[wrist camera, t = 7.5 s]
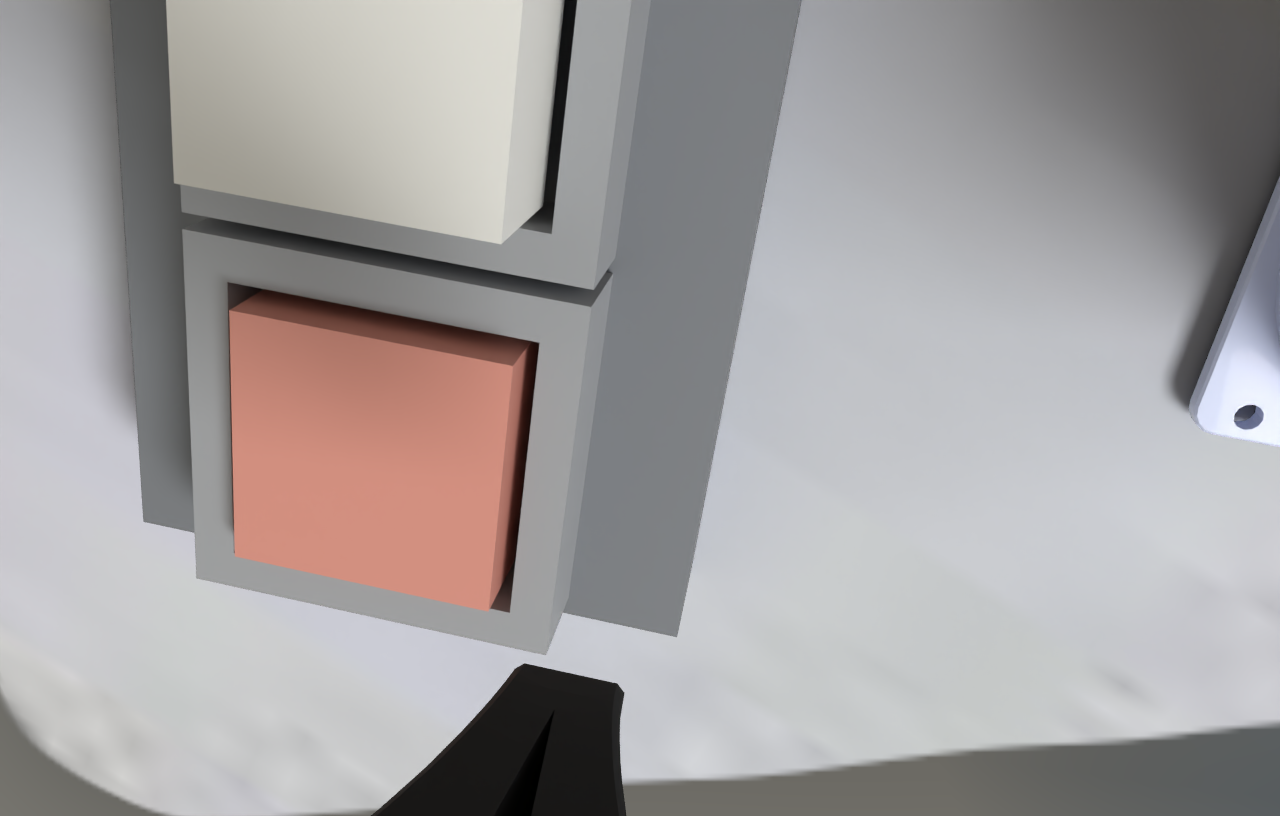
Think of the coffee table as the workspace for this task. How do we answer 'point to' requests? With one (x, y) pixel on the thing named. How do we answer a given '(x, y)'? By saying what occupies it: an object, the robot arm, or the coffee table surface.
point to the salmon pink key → (378, 446)
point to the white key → (369, 106)
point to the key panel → (494, 307)
